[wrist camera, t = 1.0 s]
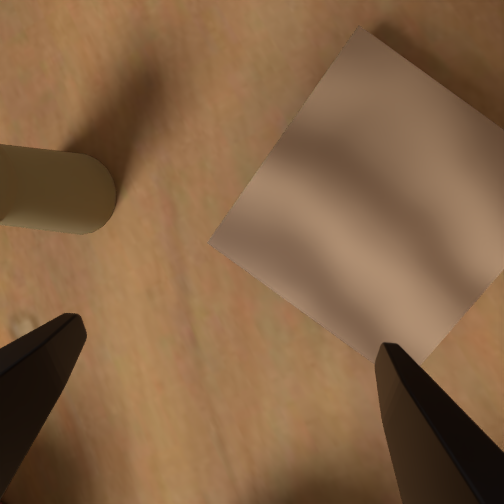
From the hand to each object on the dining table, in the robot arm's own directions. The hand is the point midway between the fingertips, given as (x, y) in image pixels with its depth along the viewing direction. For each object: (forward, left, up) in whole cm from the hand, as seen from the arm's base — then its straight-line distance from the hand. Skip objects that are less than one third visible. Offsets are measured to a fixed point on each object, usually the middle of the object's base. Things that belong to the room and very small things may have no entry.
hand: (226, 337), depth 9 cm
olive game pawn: (-4, +14, -14) cm, 20 cm away
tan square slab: (+7, -4, -14) cm, 16 cm away
